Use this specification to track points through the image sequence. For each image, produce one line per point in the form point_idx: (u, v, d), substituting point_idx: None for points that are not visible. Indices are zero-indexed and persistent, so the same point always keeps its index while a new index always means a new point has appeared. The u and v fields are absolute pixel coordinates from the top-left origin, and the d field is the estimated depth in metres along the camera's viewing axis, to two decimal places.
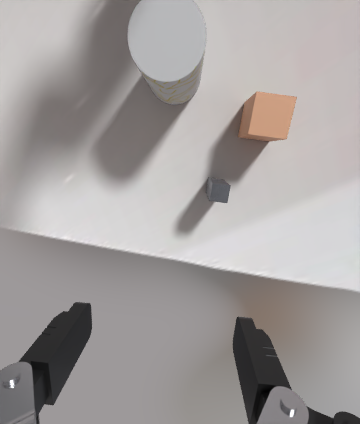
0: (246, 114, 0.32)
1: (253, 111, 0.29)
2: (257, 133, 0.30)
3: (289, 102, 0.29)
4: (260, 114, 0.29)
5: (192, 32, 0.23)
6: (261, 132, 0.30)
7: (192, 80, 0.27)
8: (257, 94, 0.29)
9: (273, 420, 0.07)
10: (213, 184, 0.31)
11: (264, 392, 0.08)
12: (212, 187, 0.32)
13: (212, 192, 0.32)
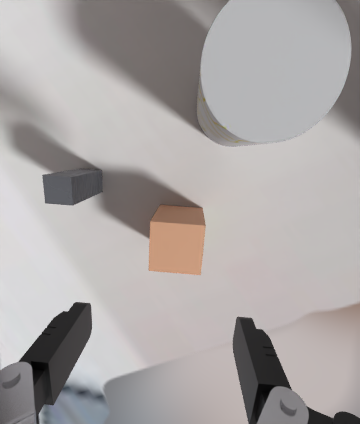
0: (183, 213, 0.24)
1: (180, 224, 0.21)
2: (152, 233, 0.21)
3: (193, 267, 0.22)
4: (176, 234, 0.21)
5: (278, 117, 0.13)
6: (153, 238, 0.21)
7: (214, 128, 0.17)
8: (201, 227, 0.21)
9: (273, 420, 0.07)
10: (68, 179, 0.20)
11: (264, 392, 0.08)
12: (64, 177, 0.20)
13: (56, 178, 0.20)
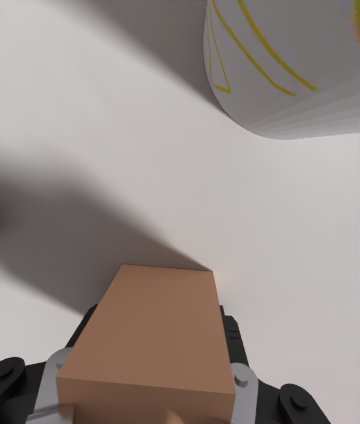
0: (168, 305, 0.10)
1: (153, 387, 0.06)
2: None
3: None
4: (143, 412, 0.07)
5: None
6: None
7: None
8: (223, 397, 0.06)
9: None
10: None
11: None
12: None
13: None
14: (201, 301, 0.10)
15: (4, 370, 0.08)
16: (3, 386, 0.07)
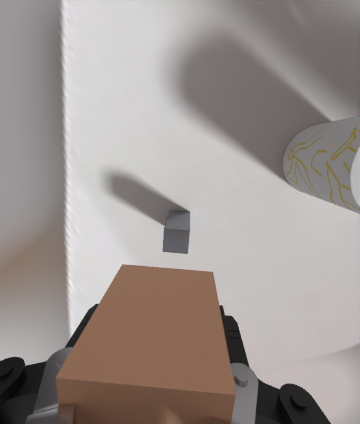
0: (168, 306, 0.10)
1: (153, 388, 0.06)
2: None
3: None
4: (143, 413, 0.07)
5: None
6: None
7: (331, 198, 0.19)
8: (223, 398, 0.06)
9: None
10: (187, 232, 0.22)
11: None
12: (183, 231, 0.23)
13: (176, 231, 0.23)
14: (201, 302, 0.10)
15: (4, 370, 0.08)
16: (3, 386, 0.07)
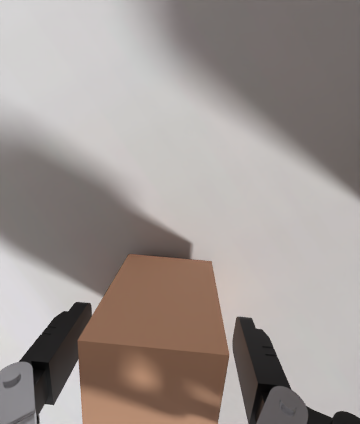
0: (171, 288, 0.11)
1: (159, 350, 0.08)
2: (85, 368, 0.08)
3: None
4: (151, 372, 0.08)
5: None
6: (89, 378, 0.08)
7: None
8: (219, 358, 0.08)
9: (273, 420, 0.07)
10: None
11: (264, 392, 0.08)
12: None
13: None
14: (200, 285, 0.11)
15: None
16: None
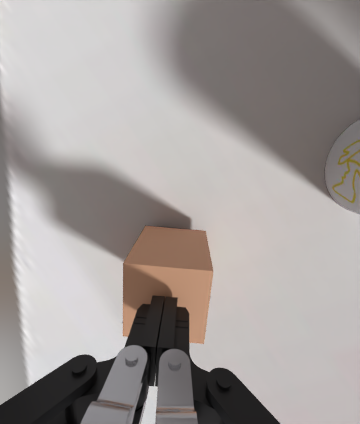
0: (177, 243, 0.16)
1: (172, 269, 0.13)
2: (126, 282, 0.13)
3: (193, 333, 0.14)
4: (166, 283, 0.13)
5: None
6: (129, 288, 0.13)
7: None
8: (207, 273, 0.13)
9: (168, 383, 0.08)
10: None
11: None
12: None
13: None
14: (197, 242, 0.16)
15: (78, 367, 0.08)
16: (82, 383, 0.08)
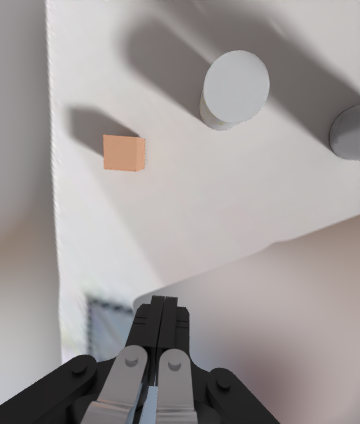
0: None
1: (121, 136, 0.34)
2: (104, 143, 0.34)
3: (131, 166, 0.35)
4: (120, 143, 0.34)
5: (239, 110, 0.28)
6: (105, 146, 0.34)
7: (210, 117, 0.32)
8: (134, 138, 0.34)
9: (168, 383, 0.08)
10: None
11: None
12: None
13: None
14: None
15: (78, 367, 0.08)
16: (82, 383, 0.08)
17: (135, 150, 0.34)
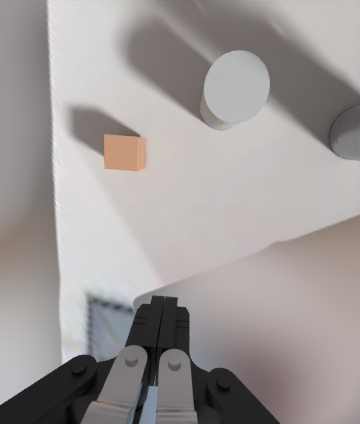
0: None
1: (122, 136, 0.34)
2: (105, 142, 0.34)
3: (132, 165, 0.35)
4: (120, 142, 0.34)
5: (239, 110, 0.28)
6: (106, 145, 0.35)
7: (210, 117, 0.32)
8: (135, 137, 0.34)
9: (168, 383, 0.08)
10: None
11: None
12: None
13: None
14: None
15: (79, 367, 0.08)
16: (82, 383, 0.08)
17: (136, 150, 0.34)
